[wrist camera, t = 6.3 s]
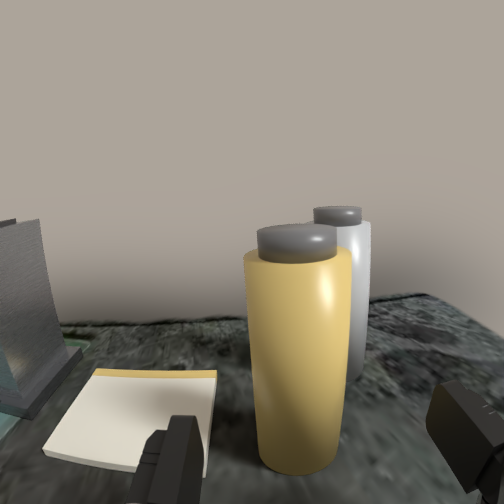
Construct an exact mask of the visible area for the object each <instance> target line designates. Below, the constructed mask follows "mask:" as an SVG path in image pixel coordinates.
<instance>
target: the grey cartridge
mask: <svg viewBox="0 0 504 504" xmlns="http://www.w3.org/2000/svg"><path fill="white" fill-rule="evenodd" d="M313 211H314V221H311V222H307V223H305V224H324V225H330V226H334V227H336V228H337V246H340V247H344V248H346V249H348V250H350V251H351V252H352V282H351V312H350V332H349V347H348V361H347V373H346V382H349V381H351V380H354V379H356V378H357V377H358V376H360V374H361V373H362V371H363V366H364V356H365V346H366V334H367V321H368V306H369V286H370V250H371V249H370V247H371V231H370V230H371V229H370V228H371V223H370V222H367V221H363V220H361V219H362V215H361V208H360V207H352V206H328V207H318V208H314V209H313Z"/></svg>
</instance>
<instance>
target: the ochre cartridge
mask: <svg viewBox="0 0 504 504" xmlns="http://www.w3.org/2000/svg"><path fill="white" fill-rule="evenodd" d="M257 242H258V249H255V250H252V251H250V252H248V253H246V254H245V255H244V257H243V258H244V272H245V285H246V299H247V312H248V325H249V338H250V351H251V364H252V376H253V389H254V401H255V413H256V425H257V437H258V449H259V455H260V458H261V459H262V461H263V462H264V464H265V465H267V466H268V467H269V468H271V469H272V470H274V471H276V472H279V473H281V474H285V475H292V476H300V475H308V474H312V473H315V472H318V471H320V470H322V469H324V468H325V467H326V466H328V465H329V464H330V463H331V462H332V461H333V460H334V458H335V456H336V454H337V449H338V443H339V435H340V428H341V420H342V412H343V403H344V394H345V384H346V373H347V361H348V347H349V332H350V312H351V282H352V252H351V251H350V250H348V249H346V248H344V247H340V246H337V228H336V227H334V226H330V225H324V224H287V225H277V226H270V227H265V228H262V229H259V230H258V231H257Z"/></svg>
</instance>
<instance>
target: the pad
mask: <svg viewBox="0 0 504 504" xmlns="http://www.w3.org/2000/svg"><path fill="white" fill-rule="evenodd" d="M216 384H217V370H203V371H141V370H114V369H96V370H95V372H94V373H93V374H92V376H91V378H90V379H89V381H88V382H87V384H86V385H85V386H84V388H83V389H82V391H81V392H80V393H79V395H78V396H77V398H76V399H75V401H74V402H73V404H72V405H71V406H70V408H69V409H68V411H67V412H66V414H65V415H64V417H63V418H62V420H61V421H60V423H59V424H58V426H57V427H56V429H55V430H54V432H53V433H52V435H51V436H50V438H49V439H48V441H47V442H46V444H45V445H44V447H43V448H42V449H43V451H44V453H45V454H46V455H47V456H50V457H54V458H58V459H62V460H66V461H71V462H75V463H80V464H84V465H89V466H95V467H100V468H106V469H112V470H119V471H126V472H133V473H135V472H136V469H137V466H138V464H139V460H140V457H141V454H142V451H143V448H144V445H145V443H146V440H147V439H148V438H149V437H150V436H151V435H152V434H153V432H154V431H155V430H167V428H168V424H169V421H170V418H171V416H172V415H195V416H196V418H197V421H198V426H199V430H200V435H201V439H202V443H203V448H204V469H203V477H202V478H205V476H206V468H207V459H208V450H209V442H210V433H211V425H212V417H213V408H214V400H215V392H216Z"/></svg>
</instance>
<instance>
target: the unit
mask: <svg viewBox="0 0 504 504" xmlns="http://www.w3.org/2000/svg"><path fill="white" fill-rule="evenodd" d="M82 357H83V354H82V350H81V347H73V346H66V345H65V342H64V339H63V335H62V332H61V328H60V324H59V321H58V317H57V313H56V309H55V305H54V300H53V297H52V292H51V287H50V282H49V278H48V273H47V268H46V262H45V256H44V250H43V244H42V237H41V230H40V222H39V219H35V220H29V221H22V222H16V219H10V220H4V221H0V412H3V413H6V414H10V415H14V416H17V417H21V418H25V419H29V420H32V419H33V418H34V417H35V416H36V414H37V413H38V412H39V410H40V409H41V408H42V407H43V405H44V404H45V403H46V401H47V400H48V399H49V398H50V396H51V395H52V394H53V393H54V391H55V390H56V389H57V388H58V386H59V385H60V384H61V383H62V381H63V380H64V379H65V378H66V377H67V375H68V374H69V373H70V372H71V370H72V369H73V368H74V367H75V366H76V364H77V363H78V362H79V361H80V360H81V358H82Z"/></svg>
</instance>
